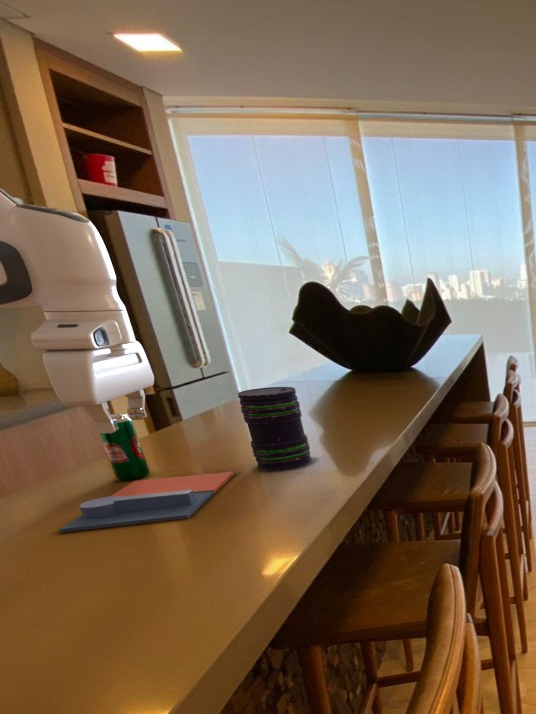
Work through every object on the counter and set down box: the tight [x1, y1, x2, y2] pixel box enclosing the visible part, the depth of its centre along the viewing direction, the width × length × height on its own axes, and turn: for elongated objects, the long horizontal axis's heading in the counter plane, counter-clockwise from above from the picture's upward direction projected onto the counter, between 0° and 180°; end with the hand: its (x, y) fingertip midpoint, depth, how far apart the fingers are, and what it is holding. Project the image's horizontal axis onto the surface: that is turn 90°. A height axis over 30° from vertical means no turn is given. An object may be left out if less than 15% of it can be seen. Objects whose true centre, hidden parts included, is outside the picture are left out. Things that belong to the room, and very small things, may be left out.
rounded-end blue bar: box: [78, 490, 196, 518], centre depth 91 cm, size 15×5×2 cm, turn 109°
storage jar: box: [237, 386, 313, 472], centre depth 113 cm, size 10×10×15 cm
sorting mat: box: [59, 471, 235, 534], centre depth 97 cm, size 16×24×1 cm, turn 19°
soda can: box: [96, 412, 151, 482], centre depth 106 cm, size 5×5×12 cm
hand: (125, 425), depth 87 cm, fingers open, 8 cm apart
